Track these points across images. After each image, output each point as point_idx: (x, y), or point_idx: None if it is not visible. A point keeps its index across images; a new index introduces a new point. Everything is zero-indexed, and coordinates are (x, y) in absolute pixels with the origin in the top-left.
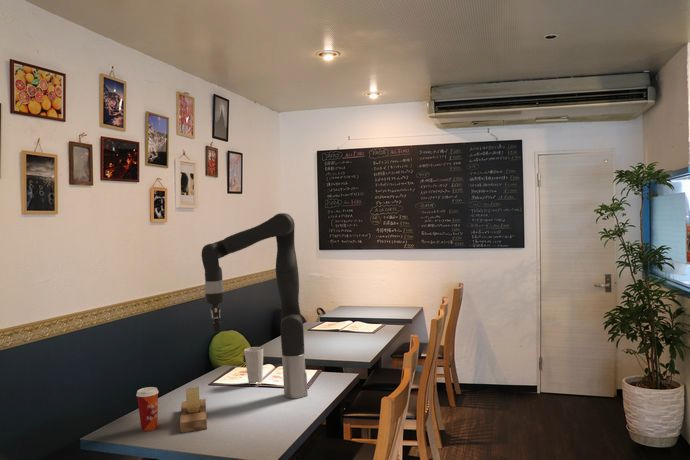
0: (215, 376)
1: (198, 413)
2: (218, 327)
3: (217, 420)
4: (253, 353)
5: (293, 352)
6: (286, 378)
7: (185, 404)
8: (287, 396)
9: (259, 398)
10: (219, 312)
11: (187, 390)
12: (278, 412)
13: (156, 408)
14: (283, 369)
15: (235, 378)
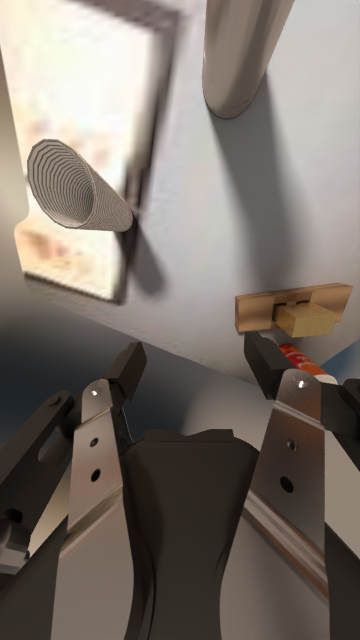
0: (78, 299)
1: (313, 302)
2: (278, 351)
3: (307, 271)
4: (99, 189)
5: None
6: (275, 38)
7: (254, 325)
8: (250, 101)
9: (221, 196)
10: (321, 508)
11: (309, 333)
12: (342, 130)
13: (309, 360)
14: (272, 13)
15: (88, 263)
